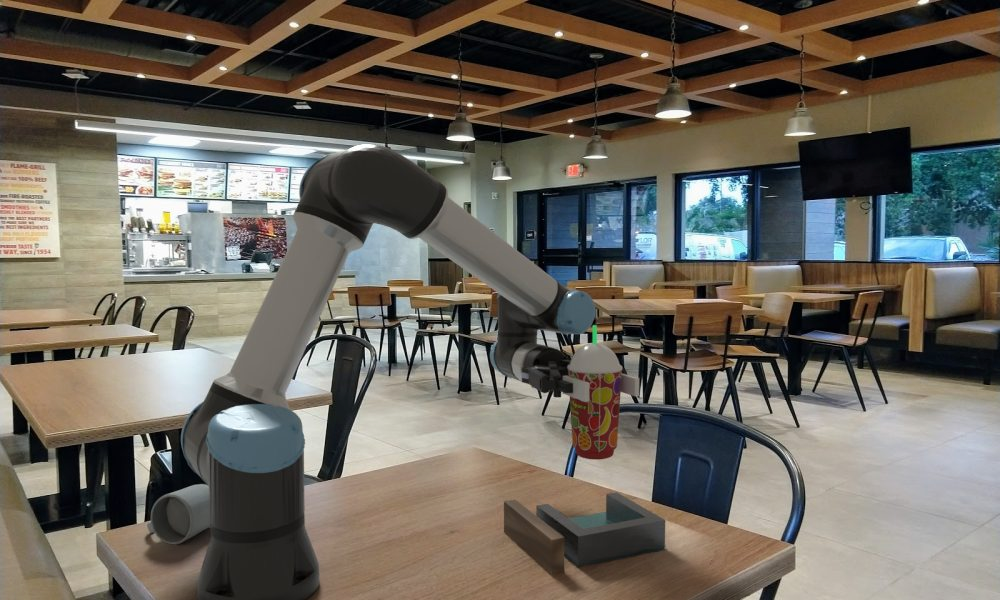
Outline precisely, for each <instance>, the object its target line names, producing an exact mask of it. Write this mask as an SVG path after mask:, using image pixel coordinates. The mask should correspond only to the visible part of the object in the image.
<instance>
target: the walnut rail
mask: <svg viewBox="0 0 1000 600" xmlns="http://www.w3.org/2000/svg"><path fill="white" fill-rule="evenodd" d="M503 533H504V534H505V535H506V536H508V537H509V538H510V539H511V540H512V541H513V542H514V543H515V544H517V546H518V547H520V548H521V549H522V550H523V551H524V552H525V553H526V554H527V555H528V556H530V557H531V559H533V560H534V561H535V562H537V564H538V565H540V566H541V568H543V569H544V570H545V571H546V572H547V573H548V574H549V575H550V576H555V575H560V574H563V573H565V557H564V537H563V536H562V535H561V534H559V533H558V532H557V531H555V530H554V529H553V528H552V527H550V526H549V525H548V524H546V523H545V522H544V521H543V520H541V519H540V518H539V517H537V516H536V514H535V513H534V512H532V511H531V510H529V509H528V508H527V507H526V506H525V505H523V504H522V503H521V502H519V501H518V500H517V499H510V500H505V501H504V500H503Z"/></svg>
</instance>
